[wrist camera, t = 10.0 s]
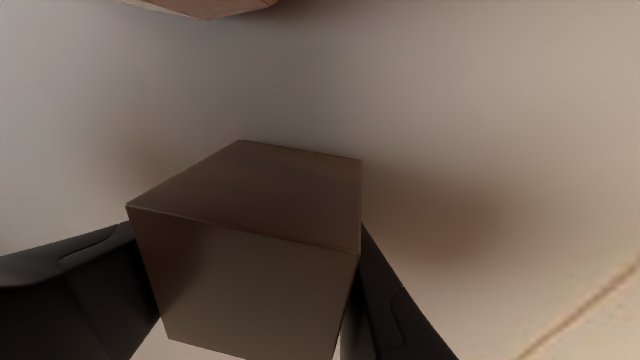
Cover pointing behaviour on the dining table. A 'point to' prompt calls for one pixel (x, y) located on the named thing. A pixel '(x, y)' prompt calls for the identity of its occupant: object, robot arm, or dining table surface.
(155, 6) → the bowl
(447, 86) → the dining table surface
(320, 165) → the block
